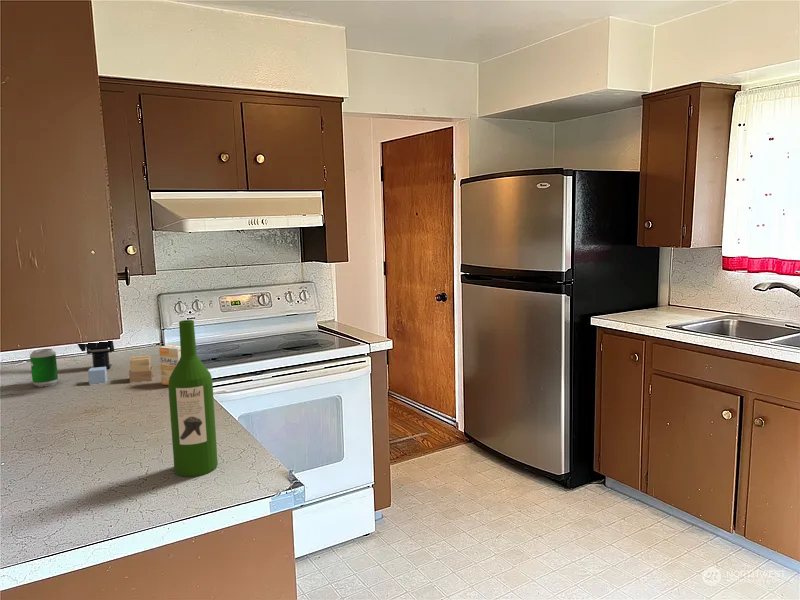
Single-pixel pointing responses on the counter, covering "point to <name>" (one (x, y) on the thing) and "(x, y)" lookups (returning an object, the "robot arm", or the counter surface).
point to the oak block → (140, 363)
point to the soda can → (44, 367)
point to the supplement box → (168, 361)
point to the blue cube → (97, 375)
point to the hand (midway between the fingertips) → (89, 349)
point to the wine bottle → (192, 410)
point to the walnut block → (141, 375)
